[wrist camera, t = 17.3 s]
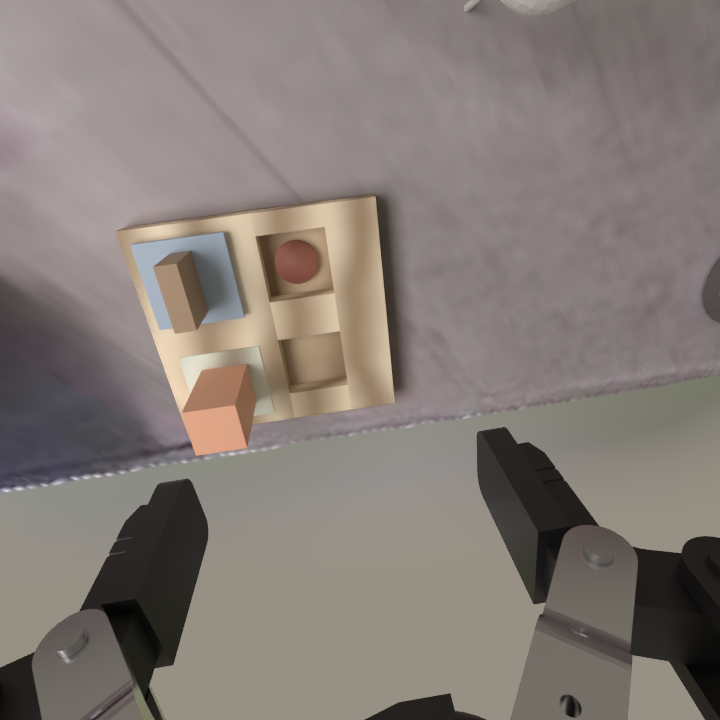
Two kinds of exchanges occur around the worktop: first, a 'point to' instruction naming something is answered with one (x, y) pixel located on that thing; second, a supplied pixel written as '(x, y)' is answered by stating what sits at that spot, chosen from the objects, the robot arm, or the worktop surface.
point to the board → (288, 308)
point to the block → (220, 410)
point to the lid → (189, 281)
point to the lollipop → (529, 6)
